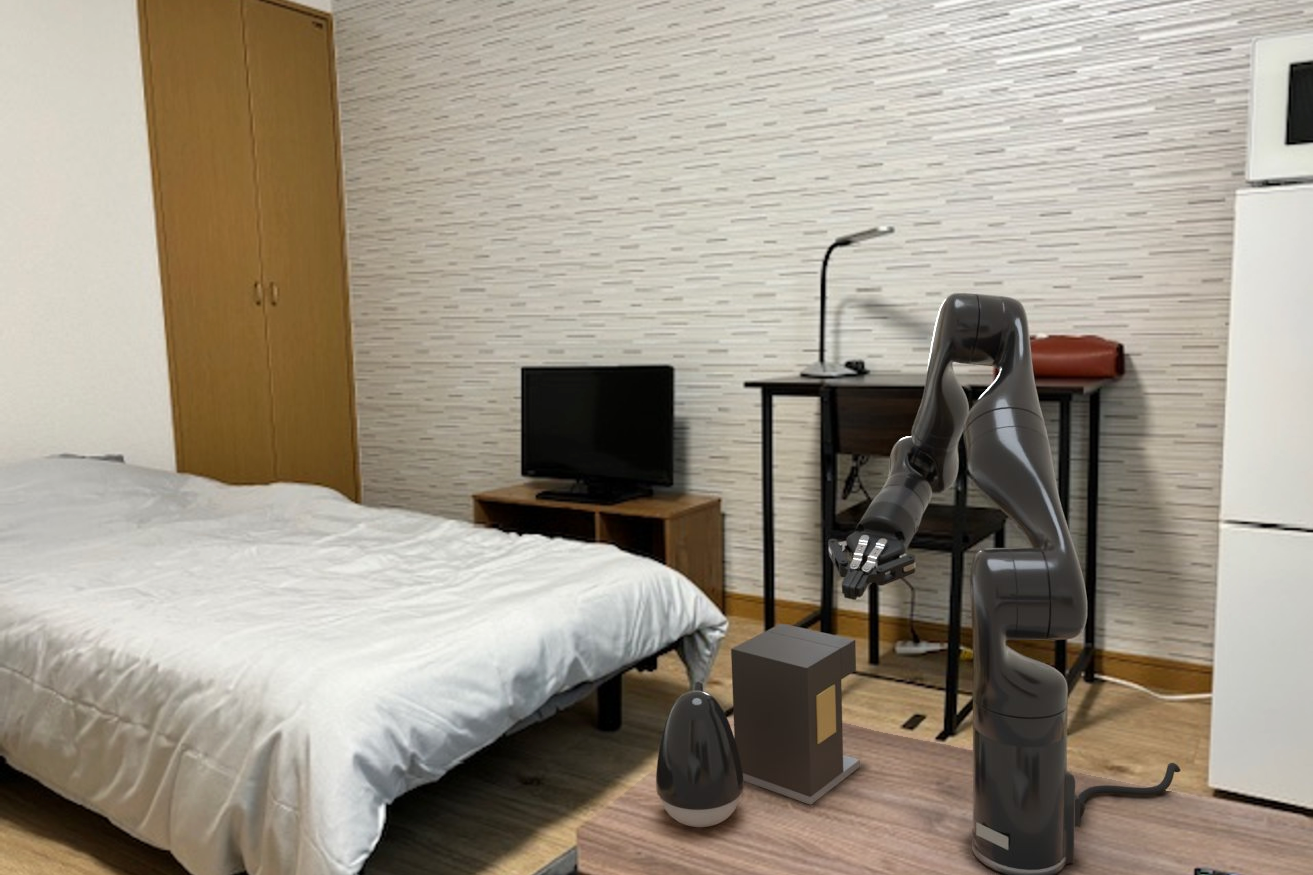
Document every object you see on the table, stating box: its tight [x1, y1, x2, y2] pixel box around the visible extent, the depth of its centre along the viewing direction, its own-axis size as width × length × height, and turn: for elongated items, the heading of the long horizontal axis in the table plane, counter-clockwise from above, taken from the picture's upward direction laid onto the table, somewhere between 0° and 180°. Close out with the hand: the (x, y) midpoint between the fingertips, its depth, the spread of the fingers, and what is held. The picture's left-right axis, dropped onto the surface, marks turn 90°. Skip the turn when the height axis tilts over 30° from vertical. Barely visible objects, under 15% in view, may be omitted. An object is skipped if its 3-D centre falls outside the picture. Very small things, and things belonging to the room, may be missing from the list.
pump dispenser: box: [655, 681, 745, 828], centre depth 115 cm, size 10×10×15 cm
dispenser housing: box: [730, 623, 861, 805], centre depth 123 cm, size 12×11×17 cm
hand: (849, 593), depth 131 cm, fingers closed
